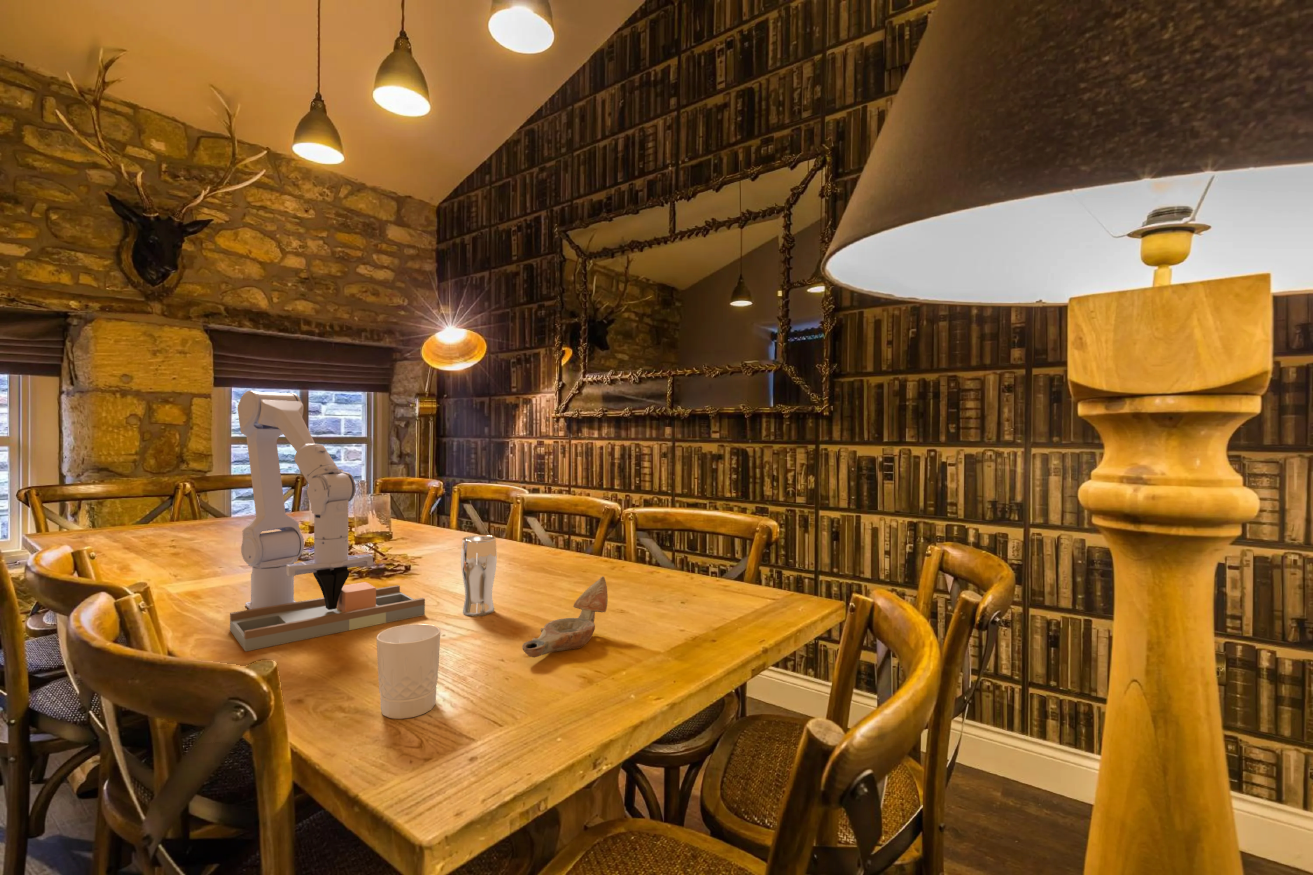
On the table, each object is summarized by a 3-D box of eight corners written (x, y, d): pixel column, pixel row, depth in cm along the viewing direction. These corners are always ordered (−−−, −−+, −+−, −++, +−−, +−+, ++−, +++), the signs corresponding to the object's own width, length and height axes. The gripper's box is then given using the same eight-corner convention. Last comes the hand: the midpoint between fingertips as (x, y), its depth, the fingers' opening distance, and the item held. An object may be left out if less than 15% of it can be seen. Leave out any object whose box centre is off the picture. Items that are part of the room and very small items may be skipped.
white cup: (388, 695, 85) (388, 624, 85) (446, 693, 86) (447, 623, 86) (366, 722, 77) (366, 643, 77) (430, 720, 78) (431, 642, 78)
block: (335, 606, 119) (335, 586, 119) (365, 601, 123) (365, 581, 123) (345, 613, 115) (345, 592, 115) (375, 608, 119) (376, 587, 119)
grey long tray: (229, 630, 111) (230, 612, 111) (397, 599, 132) (398, 585, 132) (245, 651, 101) (245, 632, 101) (424, 614, 121) (424, 598, 121)
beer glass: (486, 618, 120) (486, 541, 120) (453, 615, 121) (454, 540, 121) (502, 607, 127) (502, 535, 127) (471, 605, 128) (471, 534, 128)
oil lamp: (622, 633, 112) (622, 579, 112) (545, 673, 94) (545, 608, 94) (584, 625, 116) (584, 573, 116) (503, 661, 98) (504, 599, 98)
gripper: (293, 544, 108) (293, 620, 108) (378, 535, 118) (378, 605, 118) (283, 538, 113) (283, 611, 113) (366, 530, 123) (365, 597, 123)
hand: (331, 608), depth 116 cm, fingers closed
